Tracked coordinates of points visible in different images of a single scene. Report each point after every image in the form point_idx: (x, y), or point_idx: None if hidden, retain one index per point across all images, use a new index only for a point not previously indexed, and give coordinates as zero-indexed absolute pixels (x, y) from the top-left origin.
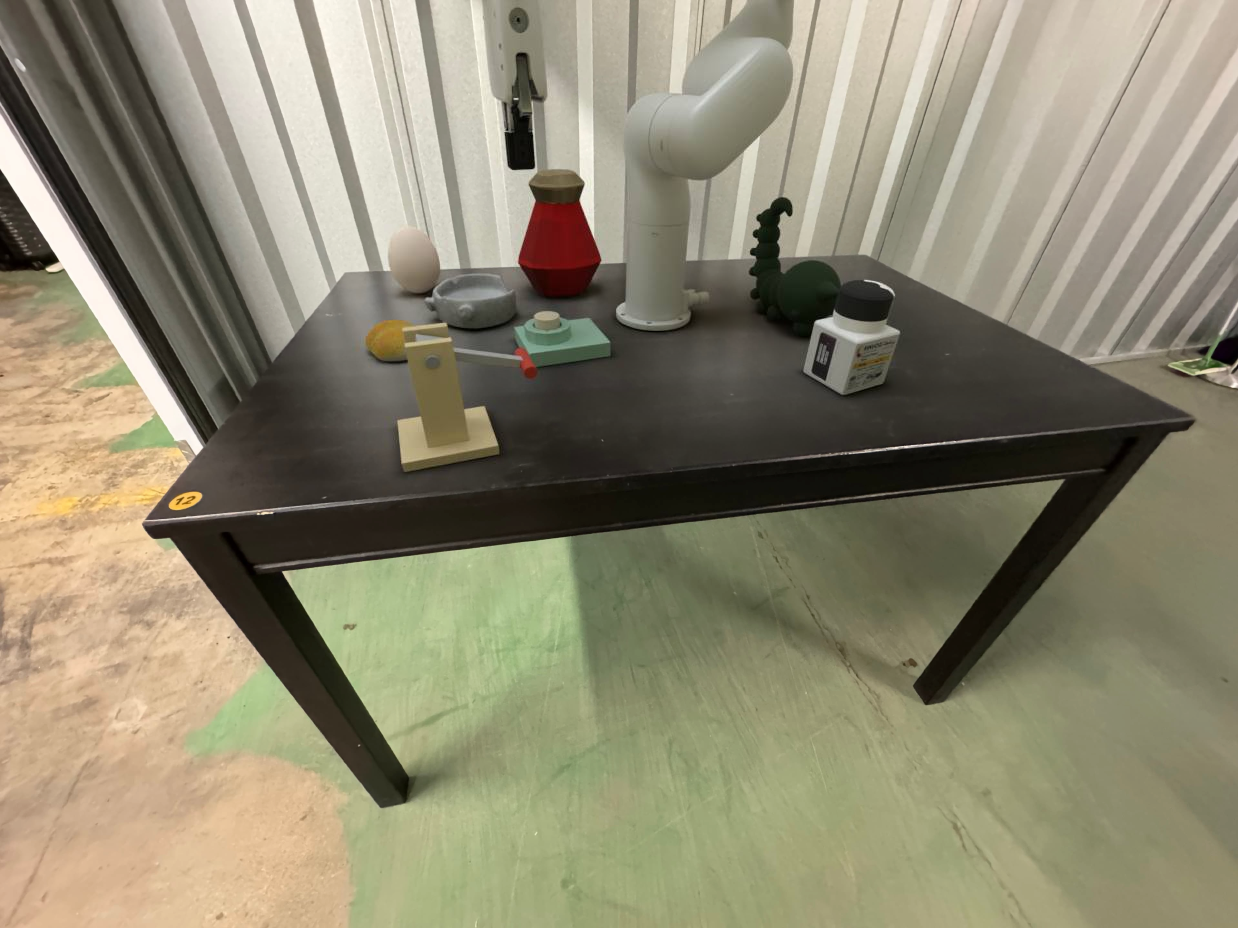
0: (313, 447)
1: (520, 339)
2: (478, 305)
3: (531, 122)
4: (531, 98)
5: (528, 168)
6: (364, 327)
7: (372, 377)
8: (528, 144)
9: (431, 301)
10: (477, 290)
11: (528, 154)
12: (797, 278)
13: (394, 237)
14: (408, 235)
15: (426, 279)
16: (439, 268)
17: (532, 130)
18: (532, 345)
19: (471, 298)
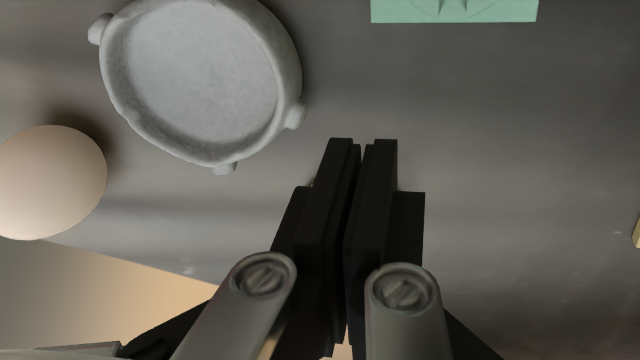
0: (612, 314)
1: (439, 21)
2: (290, 95)
3: (442, 324)
4: (61, 355)
5: (396, 168)
6: (245, 238)
7: (440, 247)
8: (421, 243)
9: (230, 166)
10: (135, 62)
11: (423, 212)
12: None
13: (32, 239)
14: (30, 221)
15: (95, 155)
16: (50, 132)
17: (435, 279)
18: (494, 4)
19: (169, 77)
